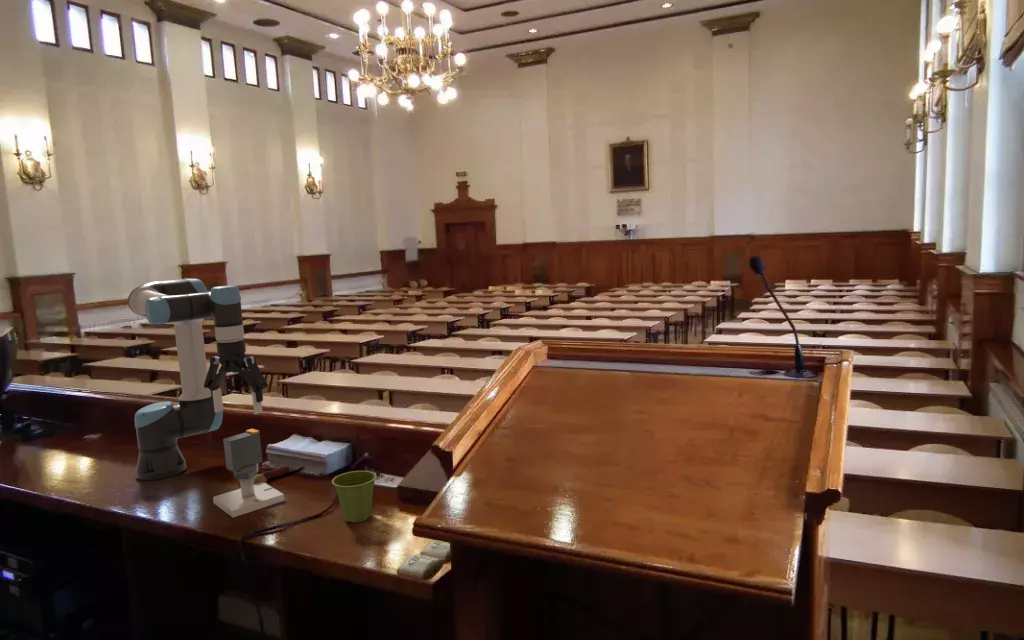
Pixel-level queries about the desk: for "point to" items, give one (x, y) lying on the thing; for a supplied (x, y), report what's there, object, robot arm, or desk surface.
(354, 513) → the plant pot
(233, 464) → the grey block orange cap
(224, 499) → the base
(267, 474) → the gavel
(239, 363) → the robot arm
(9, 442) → the desk surface
